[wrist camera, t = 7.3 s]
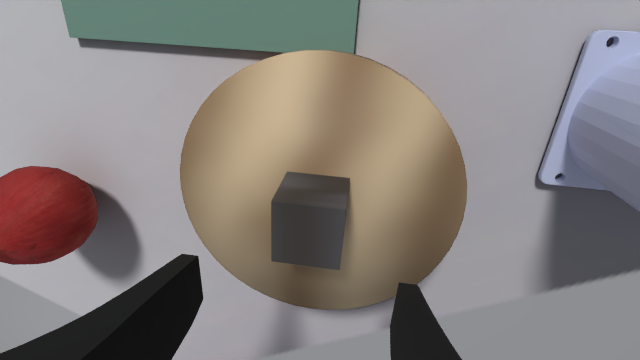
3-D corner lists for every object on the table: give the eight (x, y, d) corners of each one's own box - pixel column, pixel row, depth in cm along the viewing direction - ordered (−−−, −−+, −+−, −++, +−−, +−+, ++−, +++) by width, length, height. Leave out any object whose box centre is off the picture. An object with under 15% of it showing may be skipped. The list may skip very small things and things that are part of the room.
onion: (104, 236, 26) (3, 318, 19) (35, 188, 25) (-99, 256, 18) (138, 187, 24) (38, 259, 17) (63, 131, 23) (-77, 183, 16)
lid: (498, 62, 14) (539, 76, 11) (431, 314, 20) (444, 375, 17) (171, 38, 15) (115, 44, 12) (200, 282, 21) (168, 332, 18)
